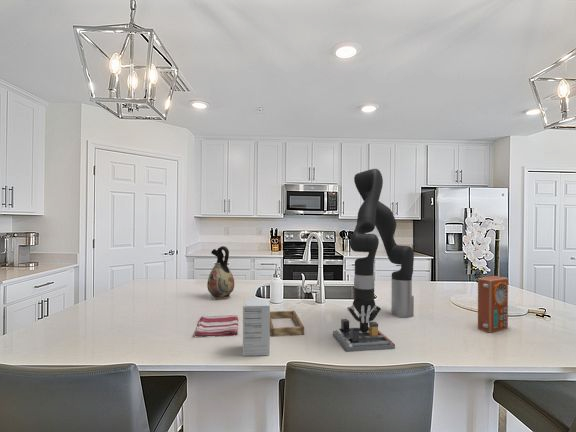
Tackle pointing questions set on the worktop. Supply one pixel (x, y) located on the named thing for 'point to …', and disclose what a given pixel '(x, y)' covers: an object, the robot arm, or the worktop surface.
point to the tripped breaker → (373, 329)
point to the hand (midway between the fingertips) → (363, 331)
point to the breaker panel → (360, 339)
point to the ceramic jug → (220, 276)
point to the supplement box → (256, 327)
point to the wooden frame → (286, 330)
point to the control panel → (492, 303)
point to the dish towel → (217, 326)
